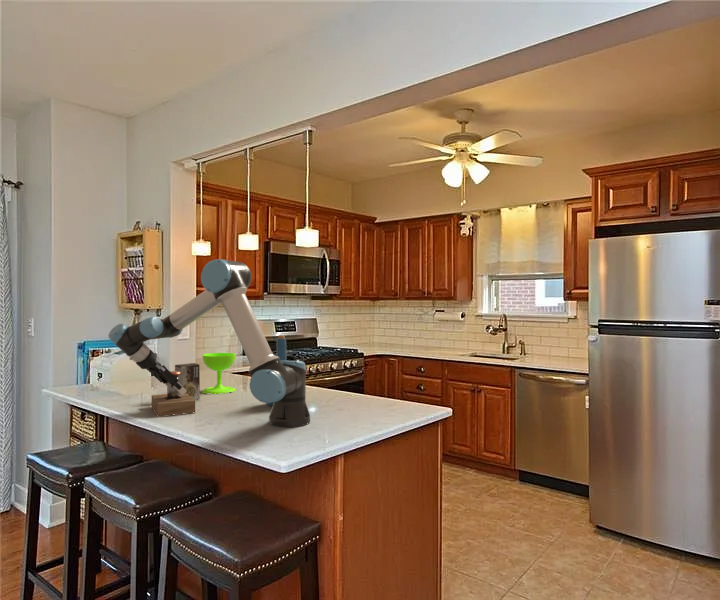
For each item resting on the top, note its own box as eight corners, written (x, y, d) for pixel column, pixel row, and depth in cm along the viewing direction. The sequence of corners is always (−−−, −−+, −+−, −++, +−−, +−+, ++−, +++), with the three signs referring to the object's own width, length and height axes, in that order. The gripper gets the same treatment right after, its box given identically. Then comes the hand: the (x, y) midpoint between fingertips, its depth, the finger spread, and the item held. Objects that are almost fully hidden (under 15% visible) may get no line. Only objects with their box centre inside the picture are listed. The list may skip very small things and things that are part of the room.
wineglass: (221, 387, 272) (221, 352, 272) (242, 390, 263) (242, 354, 263) (195, 391, 259) (195, 354, 259) (216, 395, 250) (216, 357, 250)
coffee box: (193, 397, 244) (193, 362, 244) (200, 399, 239) (200, 364, 239) (174, 400, 238) (174, 364, 237) (181, 402, 233) (181, 365, 233)
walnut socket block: (195, 412, 213) (195, 400, 213) (158, 416, 206) (158, 403, 206) (186, 403, 230) (186, 392, 230) (151, 406, 224) (151, 395, 224)
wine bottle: (259, 405, 229) (259, 335, 228) (283, 400, 238) (283, 333, 238) (279, 409, 219) (279, 337, 219) (303, 405, 229) (304, 335, 229)
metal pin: (182, 404, 217) (182, 372, 217) (165, 406, 214) (165, 373, 214) (179, 401, 223) (179, 370, 223) (163, 403, 220) (163, 371, 219)
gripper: (126, 361, 212) (164, 396, 225) (146, 365, 201) (186, 402, 213) (139, 347, 216) (176, 382, 229) (160, 350, 205) (198, 387, 217)
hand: (181, 392), depth 221 cm, fingers closed on metal pin, 4 cm apart
